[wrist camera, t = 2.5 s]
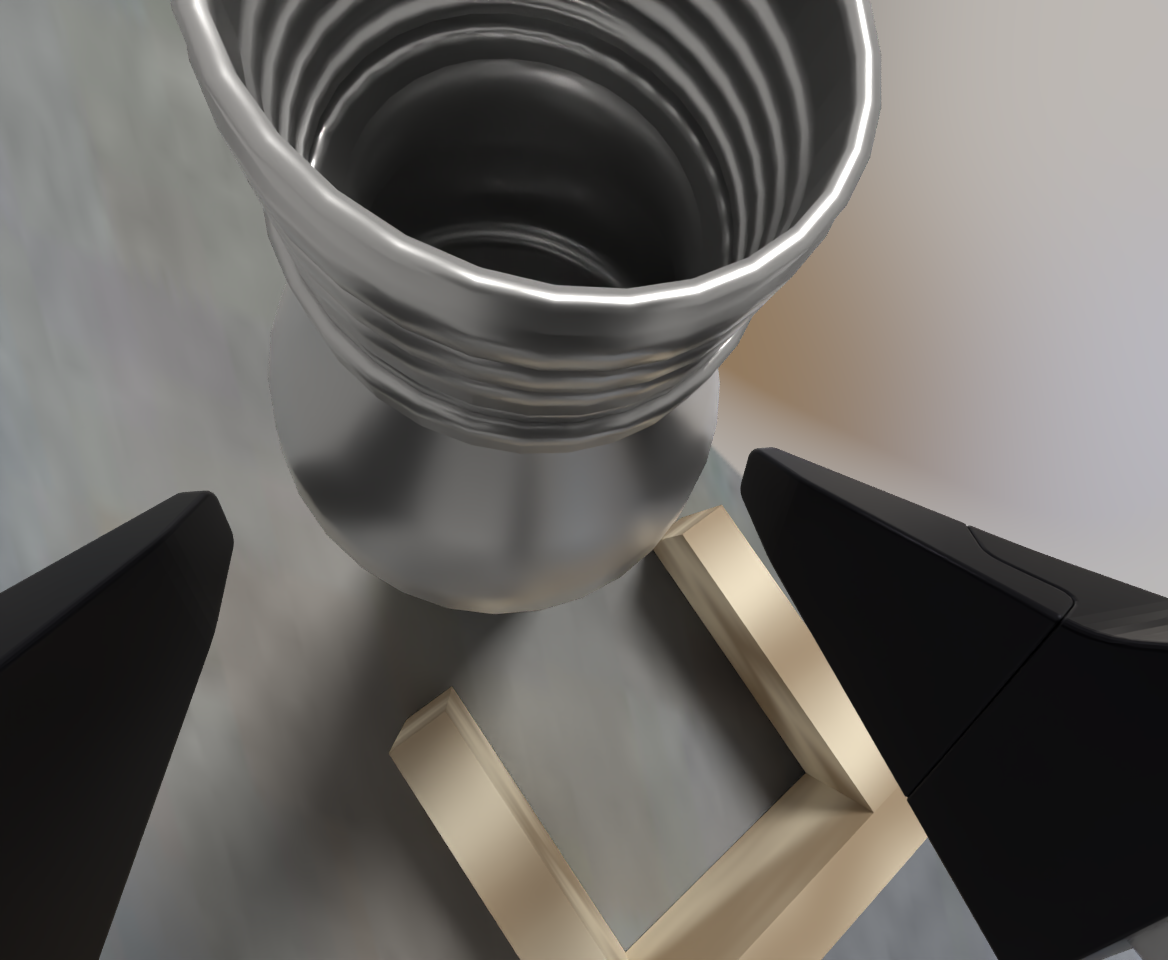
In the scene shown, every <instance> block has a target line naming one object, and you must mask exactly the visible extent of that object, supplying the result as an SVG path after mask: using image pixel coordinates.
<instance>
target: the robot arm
mask: <svg viewBox="0 0 1168 960" xmlns="http://www.w3.org/2000/svg"><path fill="white" fill-rule="evenodd" d="M741 496H742V499H743V501H744V503H745V506H746V508H747V510H748V513H749V515H750V517H751V519H752V522H753V524H754V526H755V529H756V531H757V533H758V536H759V538H760V540H761V542H762V545H763V547H764V549H765V551H766V554H767V556H768V558H769V560H770V562H771V564H772V566H773V568H774V569H775V571H776V573H777V575H778V577H779V578H780V580H781V582H782V583H783V585H784V587H785V589H786V590H787V592H788V594H789V596H790V597H791V599H792V601H793V603H794V604H795V606H796V608H797V610H798V611H799V613H800V615H801V617H802V618H803V620H804V622H805V624H806V625H807V627H808V629H809V631H810V632H811V634H812V636H813V637H814V639H815V641H816V643H817V644H818V646H819V648H820V650H821V651H822V653H823V655H824V657H825V658H826V660H827V662H828V664H829V665H830V667H831V669H832V671H833V672H834V674H835V676H836V678H837V679H838V681H839V683H840V685H841V686H842V688H843V690H844V691H845V693H846V695H847V697H848V698H849V700H850V702H851V704H852V705H853V707H854V709H855V711H856V712H857V714H858V716H859V718H860V719H861V721H862V723H863V725H864V726H865V728H866V730H867V732H868V733H869V735H870V737H871V738H872V740H873V742H874V744H875V745H876V747H877V749H878V751H879V752H880V754H881V756H882V758H883V759H884V761H885V763H886V765H887V766H888V768H889V770H890V772H891V773H892V775H893V777H894V779H895V780H896V782H897V784H898V786H899V787H900V789H901V791H902V792H903V794H904V796H905V797H908V798H907V802H908V804H909V805H910V807H911V809H912V811H913V812H914V814H915V816H916V817H917V819H918V821H919V823H920V824H921V826H922V828H923V830H924V831H925V833H926V835H927V837H928V838H929V840H930V842H931V844H932V845H933V847H934V849H935V851H936V852H937V854H938V856H939V858H940V859H941V861H942V863H943V865H944V866H945V868H946V870H947V872H948V873H949V875H950V877H951V878H952V880H953V882H954V884H955V885H956V887H957V889H958V891H959V892H960V894H961V896H962V898H963V899H964V901H965V903H966V905H967V906H968V908H969V910H970V912H971V913H972V915H973V917H974V919H975V920H976V922H977V924H978V926H979V927H980V929H981V931H982V933H983V934H984V936H985V938H986V940H987V941H988V943H989V945H990V947H991V948H992V950H993V952H994V954H995V955H996V957H997V959H998V960H1102V959H1105V958H1108V957H1110V956H1113V955H1116V954H1118V953H1121V952H1124V951H1126V950H1129V949H1132V948H1133V949H1134V950H1135V951H1136V952H1137V954H1138V955H1139V956H1140V957H1141V958H1142V960H1168V598H1166V597H1163V596H1160V595H1158V594H1155V593H1152V592H1149V591H1146V590H1143V589H1141V588H1138V587H1135V586H1132V585H1129V584H1126V583H1123V582H1121V581H1118V580H1115V579H1112V578H1109V577H1106V576H1104V575H1101V574H1098V573H1095V572H1092V571H1090V570H1087V569H1084V568H1081V567H1078V566H1075V565H1073V564H1070V563H1067V562H1064V561H1061V560H1059V559H1056V558H1053V557H1051V556H1048V555H1045V554H1042V553H1040V552H1037V551H1034V550H1031V549H1029V548H1026V547H1023V546H1021V545H1018V544H1016V543H1013V542H1011V541H1008V540H1006V539H1003V538H1000V537H998V536H995V535H992V534H990V533H987V532H985V531H983V530H980V529H978V528H975V527H973V526H966V524H964V523H962V522H960V521H957V520H955V519H952V518H950V517H947V516H945V515H942V514H940V513H937V512H935V511H932V510H930V509H927V508H925V507H922V506H920V505H917V504H915V503H912V502H910V501H907V500H905V499H902V498H900V497H897V496H895V495H892V494H890V493H887V492H885V491H882V490H880V489H877V488H875V487H872V486H870V485H867V484H865V483H862V482H860V481H857V480H855V479H852V478H850V477H847V476H845V475H842V474H840V473H837V472H834V471H832V470H830V469H827V468H825V467H822V466H820V465H817V464H815V463H812V462H810V461H807V460H805V459H802V458H800V457H797V456H795V455H792V454H790V453H787V452H785V451H782V450H780V449H777V448H773V447H769V448H757V449H754V450H753V451H752V452H751V453H750V454H749V457H748V461H747V464H746V468H745V471H744V475H743V479H742V482H741ZM233 546H234V539H233V534H232V531H231V528H230V526H229V524H228V521H227V519H226V517H225V514H224V512H223V510H222V507H221V505H220V503H219V501H218V499H217V497H216V496H215V495H214V493H212V492H210V491H194V492H182V493H178V494H176V495H174V496H172V497H171V498H169V499H167V500H165V501H163V502H162V503H160V504H158V505H156V506H155V507H153V508H151V509H149V510H147V511H146V512H144V513H142V514H140V515H139V516H137V517H135V518H133V519H131V520H130V521H128V522H126V523H124V524H122V525H121V526H119V527H117V528H115V529H114V530H112V531H110V532H108V533H106V534H105V535H103V536H101V537H99V538H98V539H96V540H94V541H92V542H90V543H89V544H87V545H85V546H83V547H81V548H80V549H78V550H76V551H74V552H73V553H71V554H69V555H67V556H65V557H64V558H62V559H60V560H58V561H57V562H55V563H53V564H51V565H49V566H48V567H46V568H44V569H42V570H41V571H39V572H37V573H35V574H33V575H32V576H30V577H28V578H26V579H24V580H23V581H21V582H19V583H17V584H16V585H14V586H12V587H10V588H8V589H7V590H5V591H3V592H1V593H0V960H99V957H100V954H101V952H102V949H103V946H104V943H105V940H106V938H107V935H108V932H109V929H110V926H111V924H112V921H113V918H114V915H115V912H116V910H117V907H118V904H119V901H120V898H121V895H122V893H123V890H124V887H125V884H126V881H127V879H128V876H129V873H130V870H131V867H132V865H133V862H134V859H135V856H136V853H137V851H138V848H139V845H140V842H141V839H142V837H143V834H144V831H145V828H146V825H147V822H148V820H149V817H150V814H151V811H152V808H153V806H154V803H155V800H156V797H157V794H158V792H159V789H160V786H161V783H162V780H163V778H164V775H165V772H166V769H167V766H168V763H169V761H170V758H171V755H172V752H173V749H174V747H175V744H176V741H177V738H178V735H179V733H180V730H181V727H182V724H183V721H184V719H185V716H186V713H187V710H188V707H189V704H190V702H191V699H192V696H193V693H194V690H195V688H196V685H197V682H198V679H199V676H200V674H201V671H202V668H203V665H204V662H205V660H206V657H207V654H208V651H209V648H210V645H211V642H212V639H213V636H214V633H215V629H216V625H217V621H218V617H219V612H220V607H221V603H222V598H223V593H224V589H225V584H226V579H227V575H228V570H229V565H230V561H231V556H232V551H233Z"/></svg>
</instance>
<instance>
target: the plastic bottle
mask: <svg viewBox="0 0 1168 960" xmlns="http://www.w3.org/2000/svg"><path fill="white" fill-rule="evenodd" d="M171 7H172V11H173V13H174V15H175V18H176V20H177V22H178V25H179V27H180V30H181V32H182V34H183V37H184V39H185V41H186V44H187V50H188V56H189V61H190V63H191V66H192V68H193V70H194V73H195V75H196V78H197V80H198V82H199V85H200V87H201V89H202V92H203V94H204V97H205V99H206V101H207V104H208V106H209V108H210V111H211V113H212V116H213V118H214V120H215V123H216V125H217V128H218V130H219V131H220V133H221V135H222V136H223V138H224V140H225V142H226V143H227V145H228V147H229V148H230V150H231V152H232V154H233V155H234V157H235V159H236V160H237V162H238V164H239V166H240V167H241V169H242V171H243V173H244V174H245V176H246V178H247V180H248V182H249V184H250V186H251V187H252V189H253V191H254V193H255V194H256V196H257V198H258V199H259V201H260V203H261V205H262V206H263V210H264V216H265V221H266V227H267V233H268V237H269V240H270V242H271V244H272V247H273V249H274V251H275V254H276V256H277V259H278V261H279V263H280V266H281V268H282V270H283V273H284V275H285V278H286V280H287V283H286V285H285V286H284V288H283V291H282V295H281V298H280V302H279V305H278V309H277V312H276V316H275V319H274V323H273V326H272V330H271V335H270V353H269V371H268V382H269V388H270V394H271V400H272V406H273V412H274V418H275V424H276V429H277V433H278V437H279V442H280V446H281V450H282V453H283V455H284V458H285V460H286V463H287V465H288V468H289V470H290V473H291V475H292V478H293V480H294V483H295V485H296V488H297V490H298V492H299V495H300V496H301V498H302V499H303V501H304V502H305V504H306V505H307V507H308V508H309V510H310V511H311V512H312V514H313V515H314V517H315V518H316V520H317V521H318V523H319V524H320V526H321V527H322V529H323V530H324V531H325V533H326V534H327V535H328V536H329V537H330V538H331V539H332V540H333V541H334V542H335V543H336V544H337V545H338V546H339V547H340V548H341V549H343V550H344V551H345V552H346V553H347V554H348V555H349V556H350V557H351V558H352V559H353V560H354V561H355V562H356V563H357V564H358V565H359V566H361V567H362V568H363V569H365V570H367V571H368V572H370V573H371V574H373V575H375V576H376V577H378V578H380V579H381V580H383V581H385V582H386V583H388V584H390V585H391V586H393V587H395V588H396V589H398V590H399V591H401V592H403V593H406V594H408V595H411V596H414V597H417V598H420V599H423V600H425V601H428V602H431V603H434V604H437V605H440V606H442V607H445V608H448V609H457V610H465V611H473V612H481V613H489V614H502V613H514V612H527V611H539V610H543V609H546V608H550V607H553V606H556V605H560V604H563V603H566V602H570V601H573V600H577V599H580V598H583V597H585V596H587V595H588V594H590V593H592V592H594V591H596V590H598V589H600V588H601V587H603V586H605V585H607V584H609V583H611V582H612V581H614V580H616V579H618V578H620V577H621V576H622V575H624V574H625V573H626V572H627V571H628V570H630V569H631V568H632V567H633V566H634V565H635V564H637V563H638V562H639V561H640V560H641V559H642V558H644V557H645V556H646V555H647V554H648V553H650V552H651V551H652V550H653V549H654V548H655V546H656V545H657V544H658V542H659V541H660V540H661V539H662V537H663V536H664V535H665V533H666V532H667V531H668V530H669V528H670V527H671V526H672V524H673V523H674V522H675V521H676V519H677V518H678V516H679V515H680V513H681V511H682V509H683V507H684V505H685V504H686V502H687V500H688V498H689V496H690V494H691V492H692V490H693V488H694V486H695V484H696V482H697V480H698V478H699V476H700V474H701V472H702V470H703V468H704V466H705V464H706V462H707V458H708V454H709V451H710V447H711V443H712V439H713V436H714V432H715V428H716V425H717V413H718V400H719V387H720V382H719V373H718V367H719V366H720V365H721V364H722V363H723V362H724V360H725V359H726V358H727V357H728V356H729V354H730V353H731V352H732V351H733V350H734V349H735V347H736V346H737V345H738V343H739V341H740V339H741V337H742V335H743V334H744V332H745V330H746V328H747V326H748V324H749V322H750V320H751V318H752V316H753V315H754V314H755V313H756V312H757V311H758V310H759V309H760V308H761V307H762V306H763V305H764V304H765V303H766V301H768V300H769V299H770V298H771V297H772V296H773V295H774V294H775V293H776V292H777V291H778V290H779V289H780V288H781V287H782V286H783V285H784V284H785V283H786V282H787V281H788V280H789V279H790V278H791V277H792V276H793V275H794V274H795V272H796V271H797V270H798V269H799V268H800V267H801V265H802V264H803V263H804V262H805V261H806V260H807V258H808V257H809V256H810V255H811V253H812V252H813V251H814V250H815V249H816V248H817V247H818V245H819V244H820V243H821V242H822V241H823V239H824V238H825V237H826V236H827V234H828V232H829V230H830V228H831V226H832V223H833V221H834V219H835V218H836V217H837V216H838V215H839V213H840V212H841V211H842V210H843V209H844V208H845V206H846V205H847V203H848V201H849V199H850V197H851V195H852V193H853V191H854V189H855V187H856V185H857V183H858V181H859V179H860V177H861V175H862V173H863V171H864V169H865V167H866V165H867V163H868V161H869V158H870V155H871V150H872V146H873V142H874V137H875V133H876V128H877V124H878V119H879V114H880V110H881V51H880V46H879V41H878V37H877V31H876V26H875V21H874V16H873V11H872V6H871V2H870V0H171Z"/></svg>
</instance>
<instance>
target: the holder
mask: <svg viewBox="0 0 1168 960" xmlns="http://www.w3.org/2000/svg"><path fill="white" fill-rule="evenodd" d="M653 550H654V552H655V553H656V554H657V556H658V557H659V559H660V560H661V562H662V563H663V565H664V566H665V568H666V569H667V571H668V572H669V573H670V575H671V576H672V578H673V579H674V581H675V582H676V584H677V585H678V587H679V588H680V590H681V591H682V592H683V594H684V595H685V597H686V598H687V600H688V601H689V603H690V604H691V606H692V607H693V609H694V610H695V611H696V613H697V614H698V616H699V617H700V619H701V620H702V622H703V623H704V625H705V626H706V628H707V629H708V630H709V632H710V633H711V635H712V636H713V638H714V639H715V641H716V642H717V644H718V645H719V647H720V648H721V649H722V651H723V652H724V654H725V655H726V657H727V658H728V660H729V661H730V663H731V664H732V666H733V667H734V668H735V670H736V671H737V673H738V674H739V676H740V677H741V679H742V680H743V682H744V683H745V685H746V686H747V687H748V689H749V690H750V692H751V693H752V695H753V696H754V698H755V699H756V701H757V702H758V704H759V705H760V706H761V708H762V709H763V711H764V712H765V714H766V715H767V717H768V718H769V720H770V721H771V723H772V724H773V725H774V727H775V728H776V730H777V731H778V733H779V734H780V736H781V737H782V739H783V740H784V742H785V743H786V744H787V746H788V747H789V749H790V750H791V752H792V753H793V755H794V756H795V758H796V759H797V761H798V762H799V763H800V765H801V766H802V768H803V769H804V771H805V772H806V773H805V774H804V775H803V776H802V777H801V778H800V779H799V780H798V781H797V782H796V783H795V784H794V785H793V786H792V787H791V788H790V789H789V790H788V791H787V792H786V793H785V794H784V795H783V796H782V797H781V798H780V799H779V800H778V801H777V802H776V803H775V804H774V805H773V806H772V807H771V808H770V809H769V810H768V811H767V812H766V813H765V814H764V815H763V816H762V817H761V818H760V819H759V820H758V821H757V822H756V823H755V824H754V825H753V826H752V827H751V828H750V829H749V830H748V831H747V832H746V833H745V834H744V835H743V836H742V837H741V838H740V839H739V840H738V841H737V842H736V843H735V844H734V845H733V846H732V847H731V848H730V849H729V850H728V851H727V852H726V853H725V854H724V855H723V856H722V857H721V858H720V859H719V860H718V861H717V862H716V863H715V864H714V865H713V866H712V867H711V868H710V869H709V870H708V871H707V872H706V873H705V874H704V875H703V876H702V877H701V878H700V879H699V880H698V881H697V882H696V883H695V884H694V885H693V886H692V887H691V888H690V889H689V890H688V891H687V892H686V893H685V894H684V895H683V896H682V897H681V898H680V899H679V900H678V901H677V902H676V903H675V904H674V905H673V906H672V907H671V908H670V909H669V910H668V911H667V912H666V913H665V914H664V915H663V916H662V917H661V918H660V919H659V920H657V921H656V922H655V923H654V924H653V925H652V926H651V927H650V928H649V929H648V930H647V931H646V932H645V933H644V934H643V935H642V936H641V937H640V938H639V939H638V940H637V941H636V942H635V943H634V944H633V945H632V946H631V947H630V948H629V949H628V950H627V951H626V952H625V951H624V950H623V948H622V947H621V945H620V944H619V942H618V940H617V939H616V937H615V936H614V934H613V933H612V931H611V930H610V928H609V927H608V925H607V924H606V922H605V920H604V919H603V917H602V916H601V914H600V913H599V911H598V910H597V908H596V907H595V905H594V904H593V902H592V901H591V899H590V897H589V896H588V894H587V893H586V891H585V890H584V888H583V887H582V885H581V884H580V882H579V881H578V879H577V877H576V876H575V874H574V873H573V871H572V870H571V868H570V867H569V865H568V864H567V862H566V861H565V859H564V857H563V856H562V854H561V853H560V851H559V850H558V848H557V847H556V845H555V844H554V842H553V841H552V839H551V838H550V836H549V834H548V833H547V831H546V830H545V828H544V827H543V825H542V824H541V822H540V821H539V819H538V818H537V816H536V814H535V813H534V811H533V810H532V808H531V807H530V805H529V804H528V802H527V801H526V799H525V798H524V796H523V795H522V793H521V791H520V790H519V788H518V787H517V785H516V784H515V782H514V781H513V779H512V778H511V776H510V775H509V773H508V771H507V770H506V768H505V767H504V765H503V764H502V762H501V761H500V759H499V758H498V756H497V755H496V753H495V751H494V750H493V748H492V747H491V745H490V744H489V742H488V741H487V739H486V738H485V736H484V735H483V733H482V732H481V730H480V728H479V727H478V725H477V724H476V722H475V721H474V719H473V718H472V716H471V715H470V713H469V712H468V710H467V708H466V707H465V705H464V704H463V702H462V701H461V699H460V698H459V696H458V695H457V693H456V692H455V690H454V689H453V687H450V688H449V689H448V690H446V691H445V692H443V693H442V694H441V695H439V696H438V697H437V698H435V699H434V700H433V701H431V702H430V703H428V704H427V705H426V706H424V707H423V708H422V709H420V710H419V711H418V712H416V713H415V714H413V715H412V716H411V717H409V718H408V719H407V720H406V721H405V723H404V725H403V727H402V729H401V731H400V733H399V734H398V736H397V738H396V740H395V742H394V744H393V746H392V748H391V750H390V751H389V755H390V756H391V758H392V760H393V761H394V763H395V764H396V766H397V767H398V769H399V771H400V772H401V774H402V775H403V777H404V778H405V780H406V781H407V783H408V785H409V786H410V788H411V789H412V791H413V792H414V794H415V796H416V797H417V799H418V800H419V802H420V803H421V805H422V807H423V808H424V810H425V811H426V813H427V814H428V816H429V817H430V819H431V821H432V822H433V824H434V825H435V827H436V828H437V830H438V832H439V833H440V835H441V836H442V838H443V839H444V841H445V843H446V844H447V846H448V847H449V849H450V850H451V852H452V853H453V855H454V857H455V858H456V860H457V861H458V863H459V864H460V866H461V868H462V869H463V871H464V872H465V874H466V875H467V877H468V879H469V880H470V882H471V883H472V885H473V886H474V888H475V889H476V891H477V893H478V894H479V896H480V897H481V899H482V900H483V902H484V904H485V905H486V907H487V908H488V910H489V911H490V913H491V915H492V916H493V918H494V919H495V921H496V922H497V924H498V925H499V927H500V929H501V930H502V932H503V933H504V935H505V936H506V938H507V940H508V941H509V943H510V944H511V946H512V947H513V949H514V951H515V952H516V954H517V955H518V957H519V958H520V960H821V959H822V958H823V957H824V956H825V955H826V954H827V952H828V951H829V950H830V949H831V948H832V947H833V946H834V944H835V943H836V942H837V941H838V940H839V939H840V937H841V936H842V935H843V934H844V933H845V932H846V931H847V929H848V928H849V927H850V926H851V925H852V924H853V923H854V921H855V920H856V919H857V918H858V917H859V916H860V914H861V913H862V912H863V911H864V910H865V909H866V908H867V906H868V905H869V904H870V903H871V902H872V901H873V899H874V898H875V897H876V896H877V895H878V894H879V893H880V891H881V890H882V889H883V888H884V887H885V886H886V885H887V883H888V882H889V881H890V880H891V879H892V878H893V876H894V875H895V874H896V873H897V872H898V871H899V870H900V868H901V867H902V866H903V865H904V864H905V863H906V861H907V860H908V859H909V858H910V857H911V856H912V855H913V853H914V852H915V851H916V850H917V849H918V848H919V847H920V845H921V844H922V843H923V842H924V841H925V840H926V838H927V835H926V833H925V831H924V830H923V828H922V826H921V824H920V823H919V821H918V819H917V817H916V816H915V814H914V812H913V811H912V809H911V807H910V805H909V804H908V802H907V798H908V797H905V796H904V794H903V792H902V791H901V789H900V787H899V786H898V784H897V782H896V780H895V779H894V777H893V775H892V773H891V772H890V770H889V768H888V766H887V765H886V763H885V761H884V759H883V758H882V756H881V754H880V752H879V751H878V749H877V747H876V745H875V744H874V742H873V740H872V738H871V737H870V735H869V733H868V732H867V730H866V728H865V726H864V725H863V723H862V721H861V719H860V718H859V716H858V714H857V712H856V711H855V709H854V707H853V705H852V704H851V702H850V700H849V698H848V697H847V695H846V693H845V691H844V690H843V688H842V686H841V685H840V683H839V681H838V679H837V678H836V676H835V674H834V672H833V671H832V669H831V667H830V665H829V664H828V662H827V660H826V658H825V657H824V655H823V653H822V651H821V650H820V648H819V646H818V644H817V643H816V641H815V639H814V637H813V636H812V634H811V632H810V631H809V629H808V628H807V626H806V625H805V624H804V622H803V621H802V619H801V618H800V616H799V615H798V613H797V612H796V611H795V609H794V608H793V606H792V605H791V603H790V602H789V601H788V599H787V598H786V596H785V595H784V593H783V592H782V590H781V589H780V588H779V586H778V585H777V583H776V582H775V580H774V579H773V578H772V576H771V575H770V573H769V572H768V570H767V569H766V567H765V566H764V565H763V563H762V562H761V560H760V559H759V557H758V556H757V555H756V553H755V552H754V550H753V549H752V547H751V546H750V545H749V543H748V542H747V540H746V539H745V537H744V536H743V534H742V533H741V532H740V530H739V529H738V527H737V526H736V524H735V523H734V522H733V520H732V519H731V517H730V516H729V514H728V513H727V511H726V510H725V509H724V507H723V506H722V505H720V506H717V507H714V508H711V509H707V510H704V511H701V512H698V513H695V514H692V515H689V516H685V517H682V518H681V519H679V520H678V521H677V522H675V523H674V524H673V525H672V526H671V527H670V528H669V530H668V531H667V532H666V533H665V535H664V536H663V537H662V539H661V540H660V541H659V542H658V544H657V545H656V546H655V548H654V549H653Z"/></svg>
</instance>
